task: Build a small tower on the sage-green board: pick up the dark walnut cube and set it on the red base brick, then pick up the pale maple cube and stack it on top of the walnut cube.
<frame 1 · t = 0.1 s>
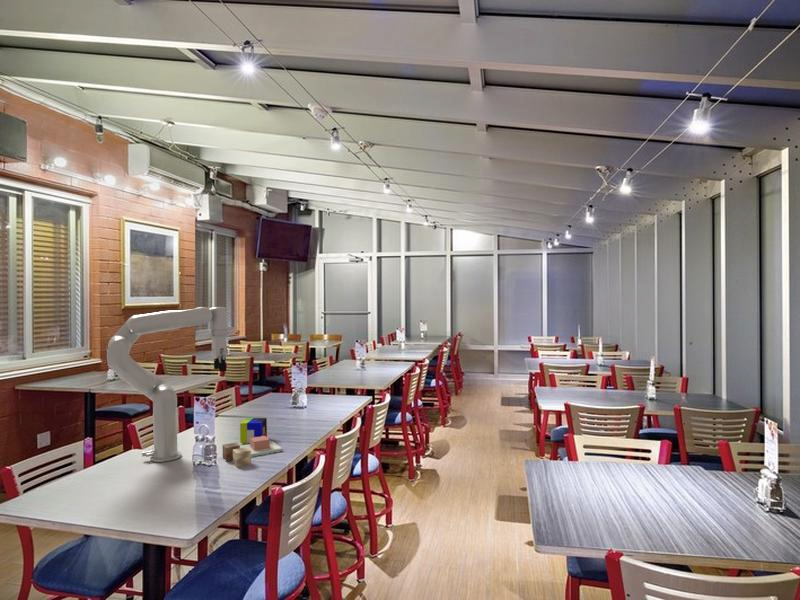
hand: (220, 370, 237), 37 cm above the table, tool pointing down, fingers open, 9 cm apart
walnut brick: (231, 458, 222), on the table
maple brick: (242, 464, 215), on the table
puzzle toy: (254, 441, 249), on the table
build board: (260, 450, 234), on the table
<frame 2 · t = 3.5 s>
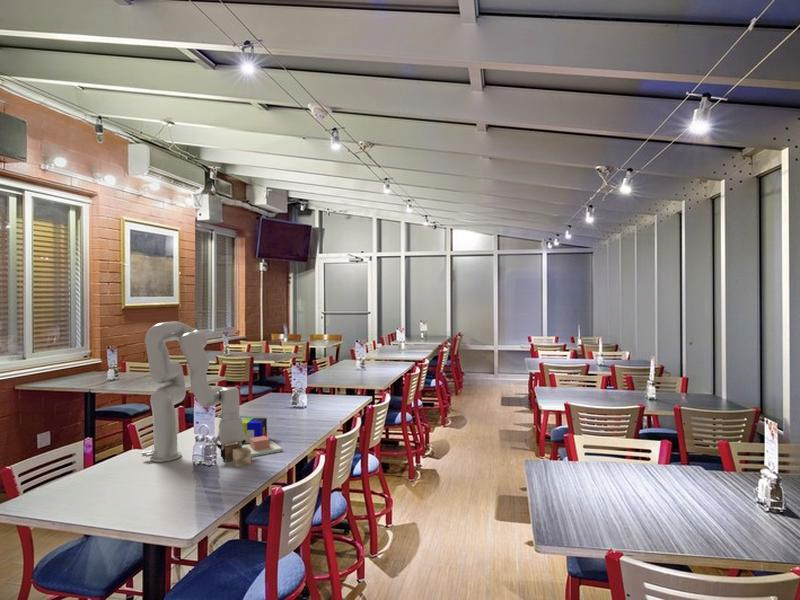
hand: (231, 456, 222), 1 cm above the table, tool pointing down, fingers closed on walnut brick, 6 cm apart
walnut brick: (231, 458, 222), on the table, touching gripper
everything else where it was.
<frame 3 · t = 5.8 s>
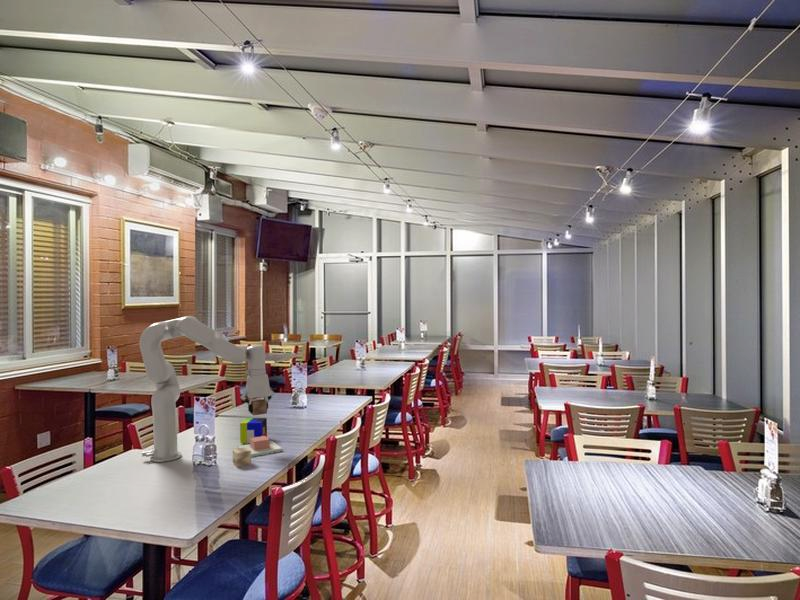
hand: (258, 411, 233), 18 cm above the table, tool pointing down, fingers closed on walnut brick, 6 cm apart
walnut brick: (258, 413, 233), point 17 cm above the table, touching gripper
everything else where it was.
when the fingers open (8 cm above the table, at t = 8.2 s): walnut brick drops 1 cm, resting on build board.
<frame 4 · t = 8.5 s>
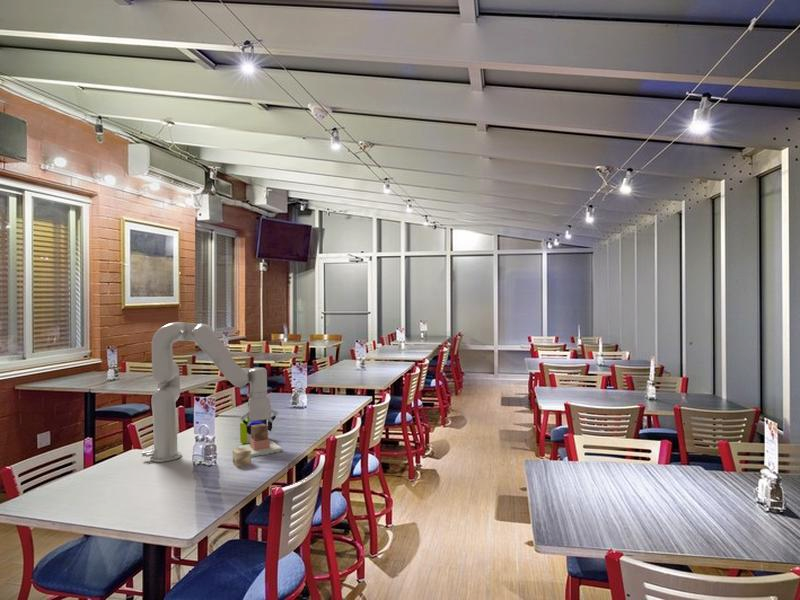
hand: (259, 432, 234), 8 cm above the table, tool pointing down, fingers open, 9 cm apart
walnut brick: (259, 438, 234), point 5 cm above the table, touching build board
everything else where it was.
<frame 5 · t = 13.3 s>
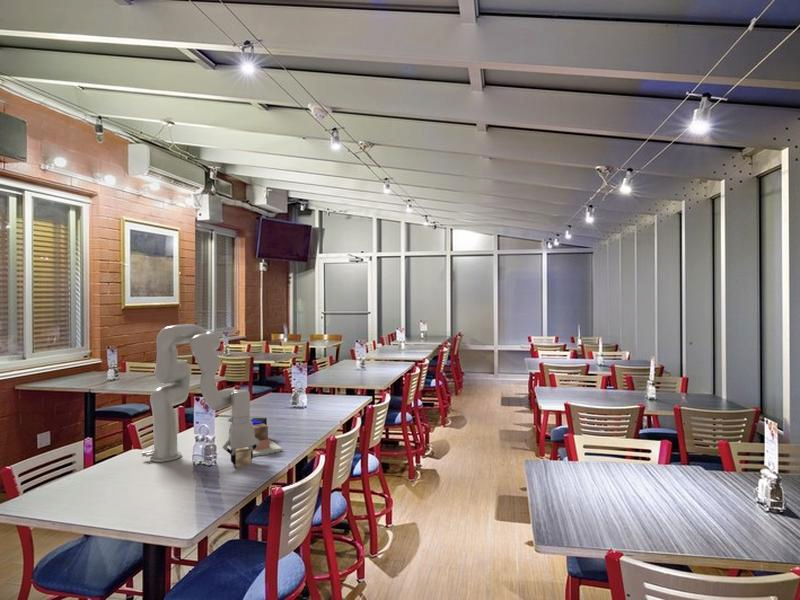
hand: (242, 461, 215), 1 cm above the table, tool pointing down, fingers closed on maple brick, 6 cm apart
maple brick: (242, 464, 215), on the table, touching gripper
everything else where it was.
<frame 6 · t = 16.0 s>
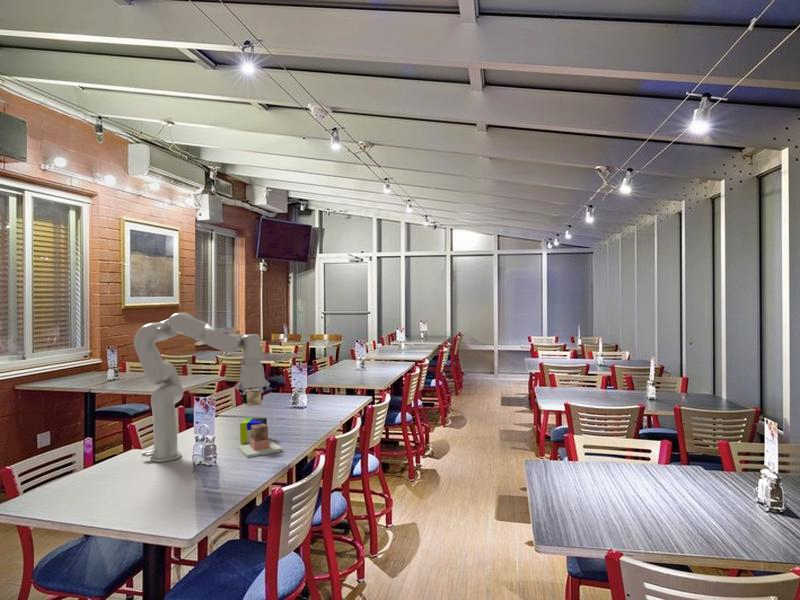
hand: (252, 401, 227), 24 cm above the table, tool pointing down, fingers closed on maple brick, 6 cm apart
maple brick: (252, 404, 227), point 23 cm above the table, touching gripper
everything else where it was.
when the fingers open (14 cm above the table, at t = 18.8 s): maple brick drops 1 cm, resting on walnut brick.
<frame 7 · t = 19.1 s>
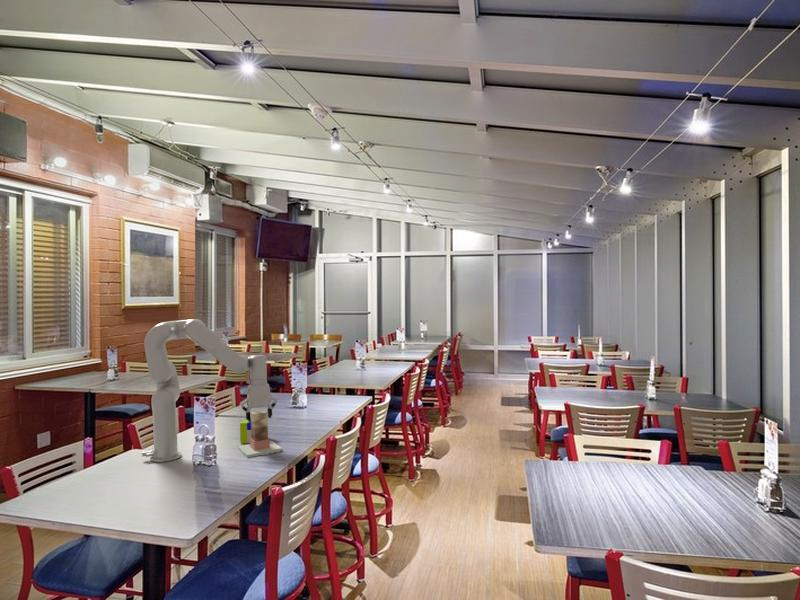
hand: (259, 419, 234), 14 cm above the table, tool pointing down, fingers open, 9 cm apart
walnut brick: (259, 438, 234), point 5 cm above the table, touching build board, maple brick
maple brick: (259, 425, 234), point 11 cm above the table, touching walnut brick
everything else where it was.
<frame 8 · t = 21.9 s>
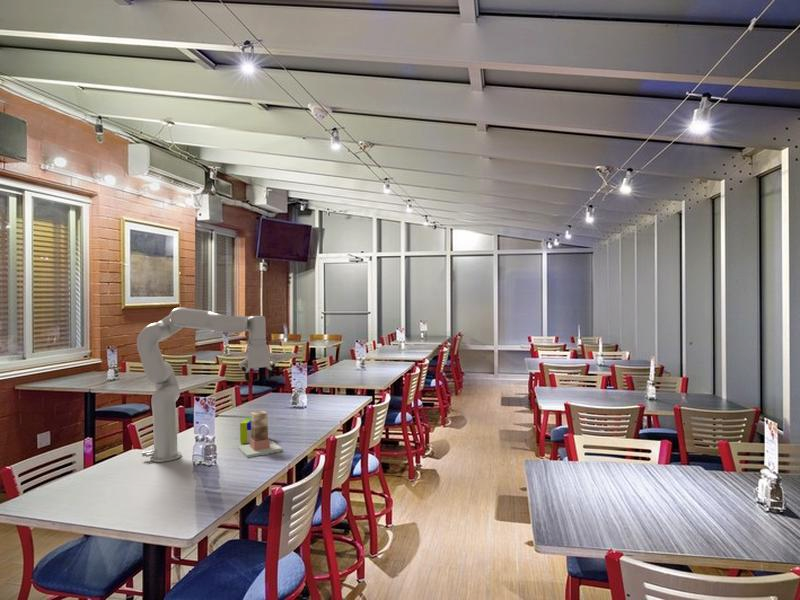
hand: (258, 379, 234), 32 cm above the table, tool pointing down, fingers open, 9 cm apart
nothing on the table moved.
at the end: walnut brick 0.1 cm off-centre on the build board, point 5.2 cm above the build board's base; maple brick 0.0 cm off-centre on the walnut brick, point 6.0 cm above the walnut brick's base; maple brick tilted 0° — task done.
